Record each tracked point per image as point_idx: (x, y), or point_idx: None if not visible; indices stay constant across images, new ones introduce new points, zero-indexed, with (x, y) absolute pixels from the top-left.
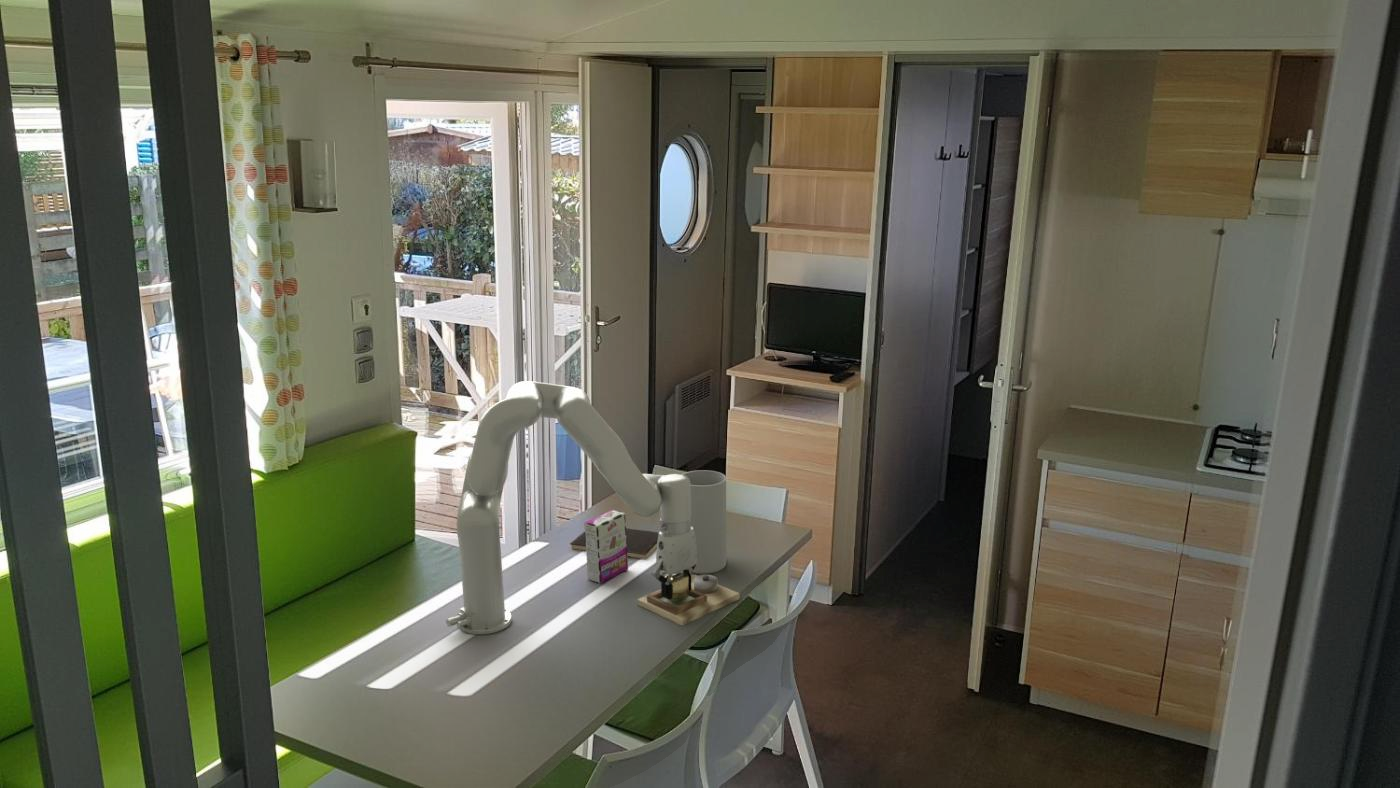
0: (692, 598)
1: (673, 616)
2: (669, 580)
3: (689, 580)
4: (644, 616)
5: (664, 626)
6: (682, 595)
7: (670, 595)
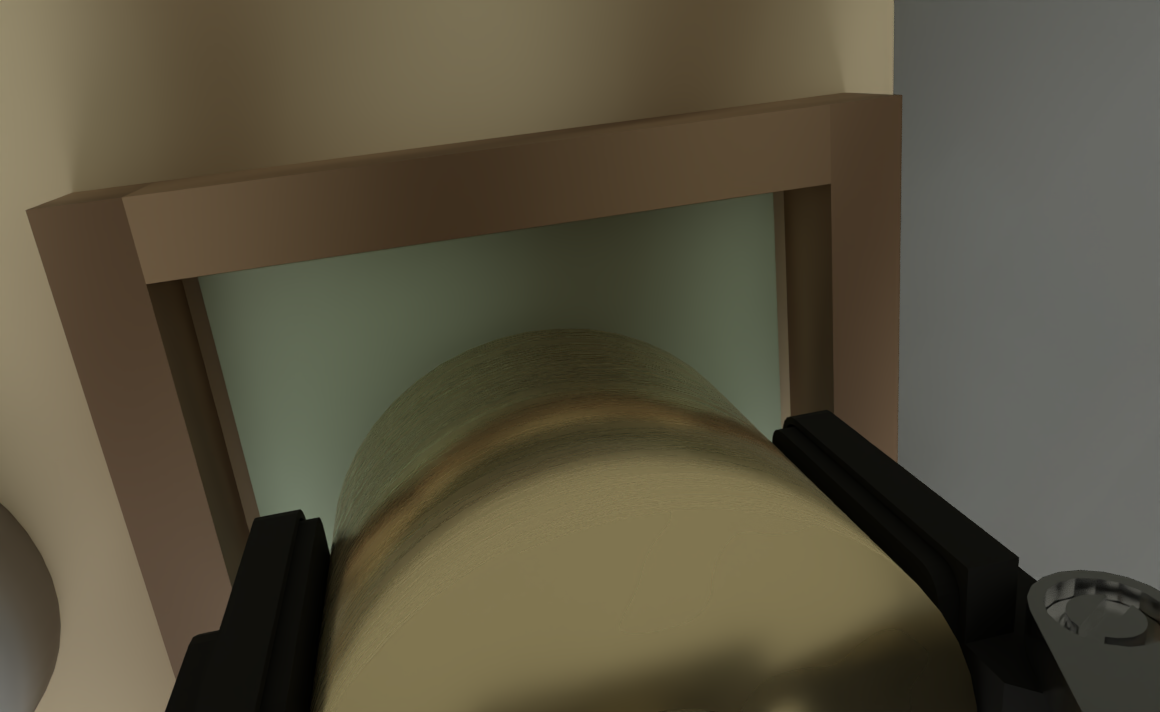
0: (274, 418)
1: (892, 93)
2: (1104, 653)
3: (277, 653)
4: (987, 456)
5: (1011, 65)
6: (607, 361)
7: (852, 438)
